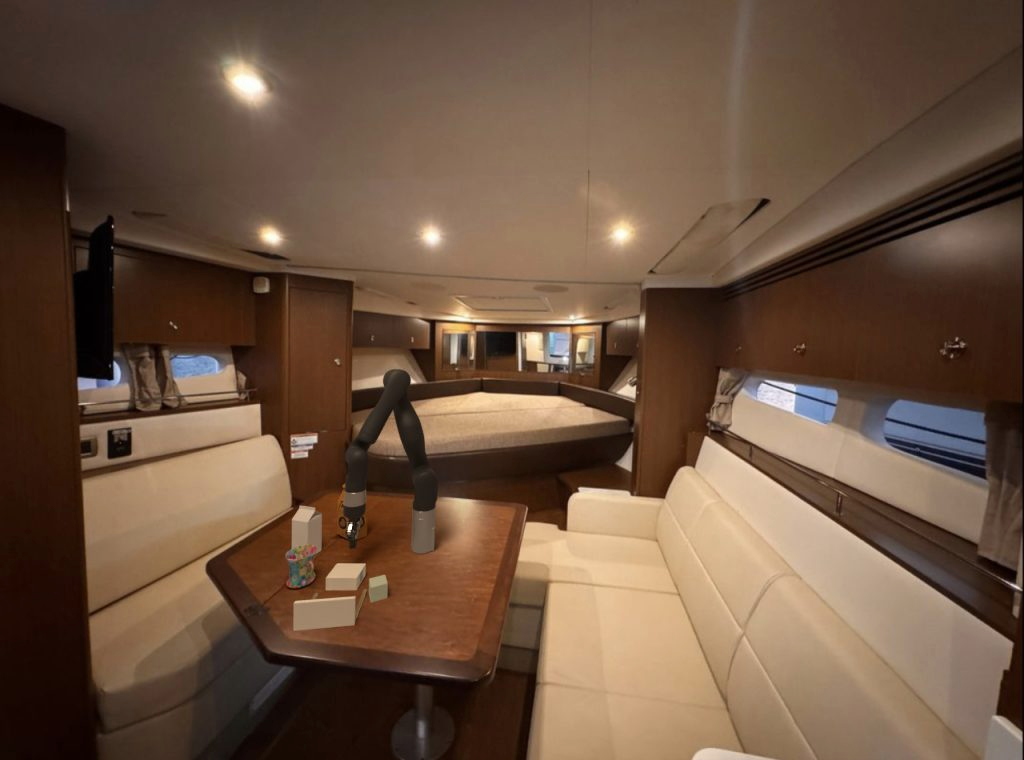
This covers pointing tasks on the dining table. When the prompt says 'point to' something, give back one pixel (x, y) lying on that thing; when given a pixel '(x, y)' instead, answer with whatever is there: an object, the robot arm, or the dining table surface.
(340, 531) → the coffee package
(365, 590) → the frame
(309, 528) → the milk carton
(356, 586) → the carton
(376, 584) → the green box
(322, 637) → the dining table surface
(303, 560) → the mug
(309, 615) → the backdrop
